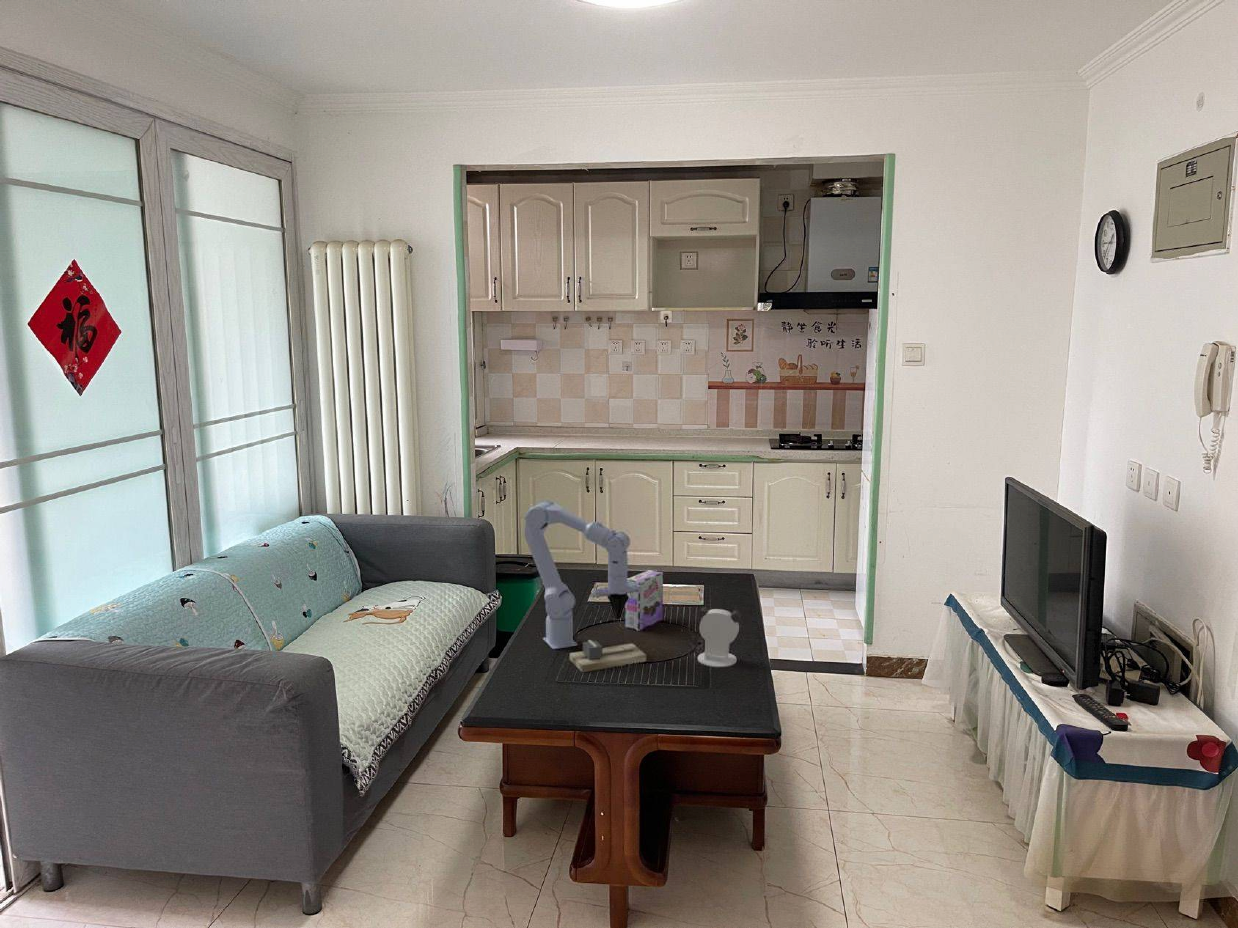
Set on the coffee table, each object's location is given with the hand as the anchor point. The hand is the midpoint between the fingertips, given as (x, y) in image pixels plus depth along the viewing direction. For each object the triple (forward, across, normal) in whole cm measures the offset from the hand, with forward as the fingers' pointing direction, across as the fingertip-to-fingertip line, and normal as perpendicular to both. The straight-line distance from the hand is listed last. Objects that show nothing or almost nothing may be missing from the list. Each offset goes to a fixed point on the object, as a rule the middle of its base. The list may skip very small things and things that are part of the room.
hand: (617, 617), depth 262 cm
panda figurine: (+10, +25, -18) cm, 32 cm away
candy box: (+11, +17, +18) cm, 27 cm away
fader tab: (+8, -10, -6) cm, 14 cm away
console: (+10, -6, -6) cm, 13 cm away
